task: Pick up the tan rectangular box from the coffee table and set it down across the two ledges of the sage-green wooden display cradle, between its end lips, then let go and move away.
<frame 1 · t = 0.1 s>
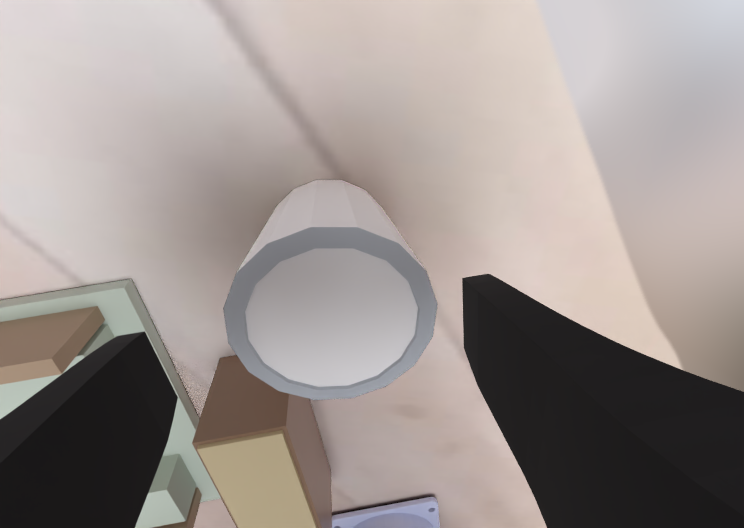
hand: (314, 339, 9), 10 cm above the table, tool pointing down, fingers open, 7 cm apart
display cradle: (91, 416, 23), on the table
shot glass: (329, 235, 19), on the table
tan rectangular box: (281, 418, 25), on the table
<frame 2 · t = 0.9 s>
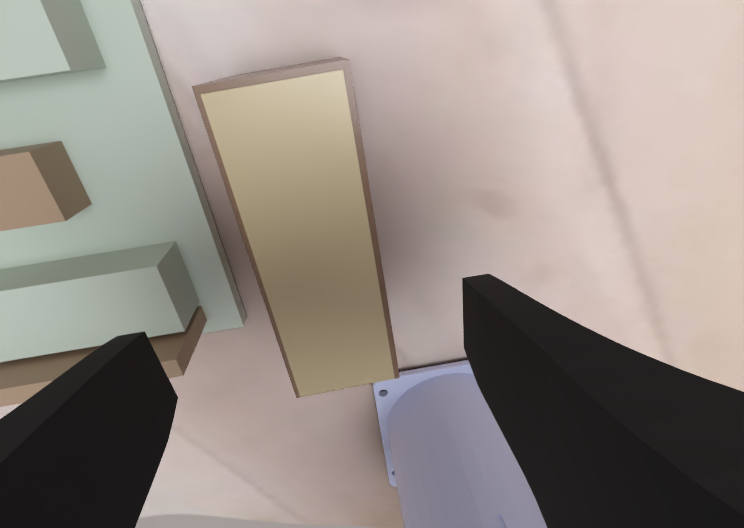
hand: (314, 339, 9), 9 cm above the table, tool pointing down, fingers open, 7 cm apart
display cradle: (49, 174, 16), on the table
tan rectangular box: (318, 204, 18), on the table
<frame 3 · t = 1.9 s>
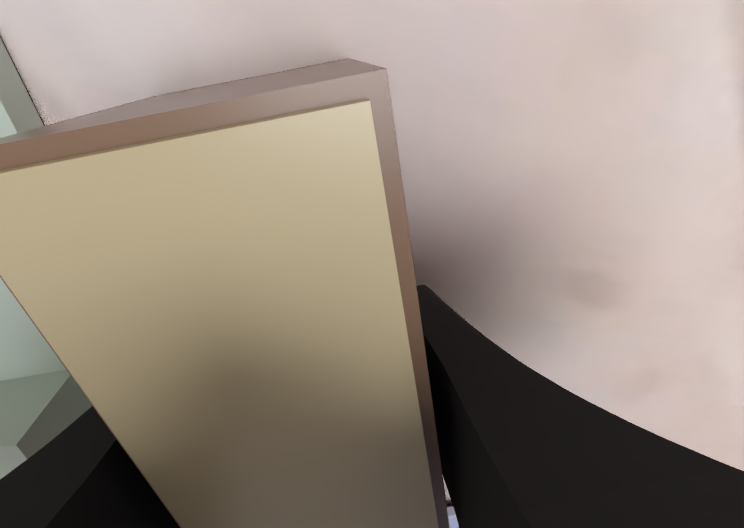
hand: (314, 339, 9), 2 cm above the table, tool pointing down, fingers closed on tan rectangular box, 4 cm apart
tan rectangular box: (315, 298, 11), on the table, touching gripper
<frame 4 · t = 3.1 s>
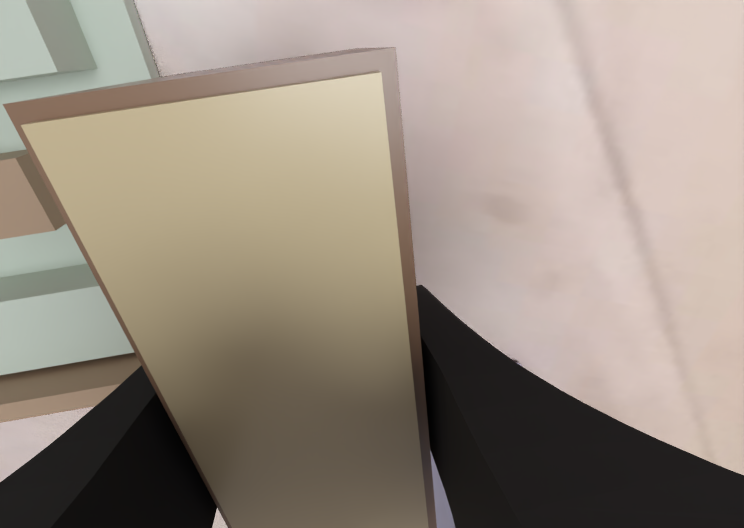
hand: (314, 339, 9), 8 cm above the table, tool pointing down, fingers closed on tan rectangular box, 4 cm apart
display cradle: (38, 180, 15), on the table
tan rectangular box: (314, 273, 12), point 6 cm above the table, touching gripper
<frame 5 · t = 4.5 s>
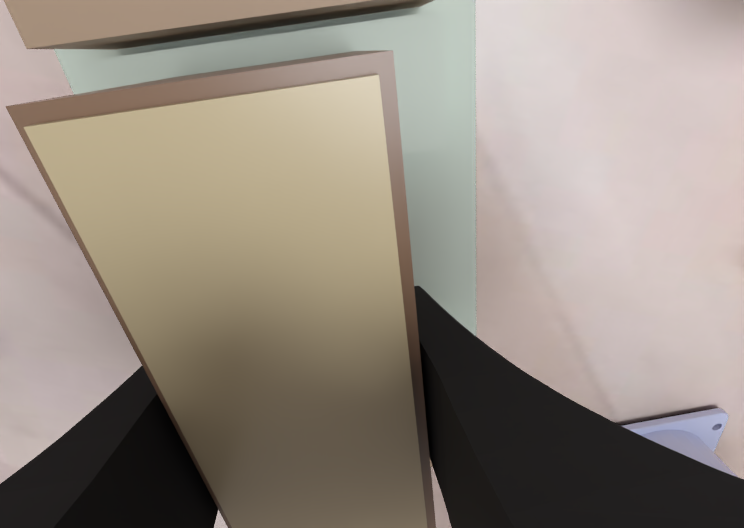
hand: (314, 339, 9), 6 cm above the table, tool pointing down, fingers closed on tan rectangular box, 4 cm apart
display cradle: (317, 238, 14), on the table
tan rectangular box: (314, 274, 12), point 3 cm above the table, touching display cradle, gripper
when the fingers open (6 cm above the table, at t = 4.6 s): tan rectangular box stays where it is, resting on display cradle.
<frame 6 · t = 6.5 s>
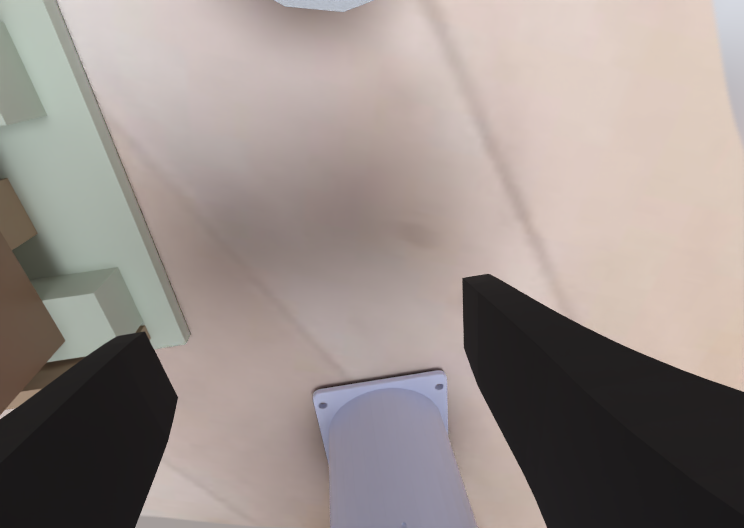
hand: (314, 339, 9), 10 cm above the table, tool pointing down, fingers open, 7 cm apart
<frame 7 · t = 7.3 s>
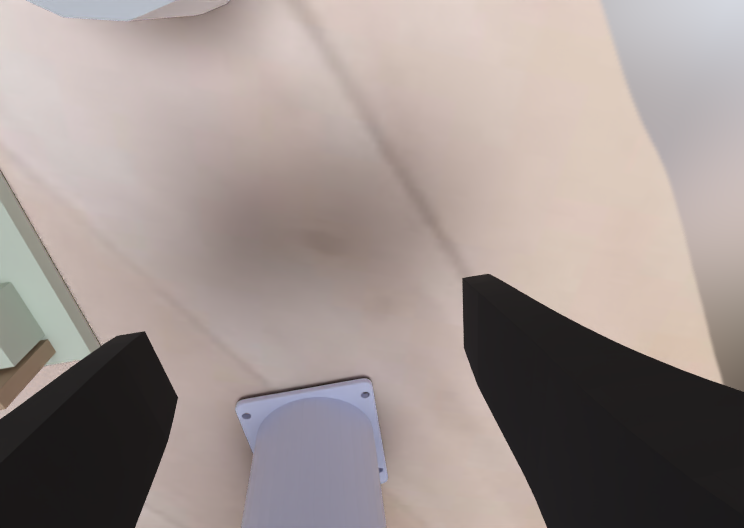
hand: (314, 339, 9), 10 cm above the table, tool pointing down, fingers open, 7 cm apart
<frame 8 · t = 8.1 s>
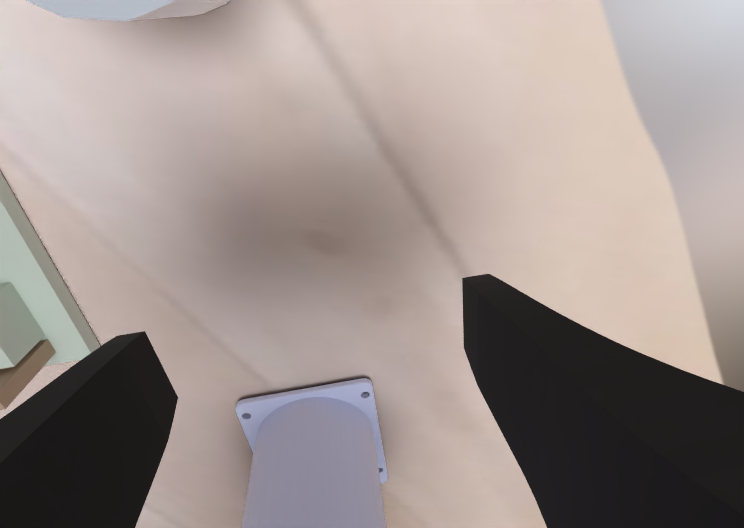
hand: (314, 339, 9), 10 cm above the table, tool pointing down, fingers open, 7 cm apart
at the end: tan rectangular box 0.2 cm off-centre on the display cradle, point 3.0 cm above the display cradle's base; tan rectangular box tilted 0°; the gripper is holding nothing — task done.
